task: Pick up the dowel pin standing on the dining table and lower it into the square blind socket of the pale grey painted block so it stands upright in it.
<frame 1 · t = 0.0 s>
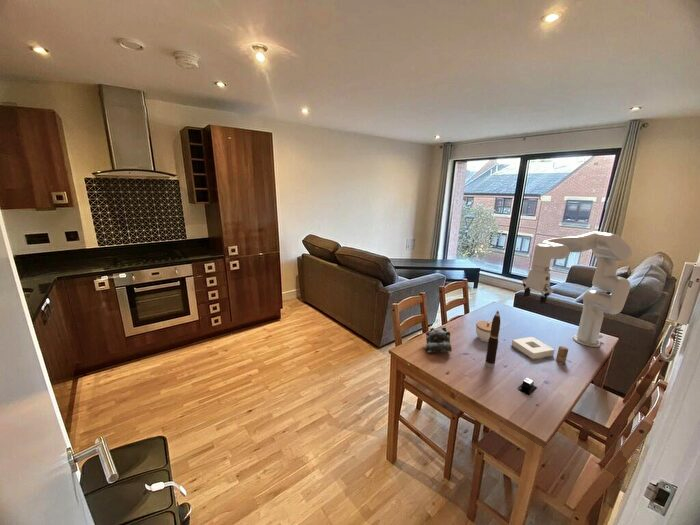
hand: (534, 299, 149), 31 cm above the table, fingers open, 9 cm apart
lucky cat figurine: (436, 350, 159), on the table
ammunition: (489, 365, 146), on the table
black blocky piece: (526, 389, 129), on the table
pin: (560, 361, 149), on the table
bore block: (531, 351, 158), on the table
lidded bowl: (485, 339, 170), on the table
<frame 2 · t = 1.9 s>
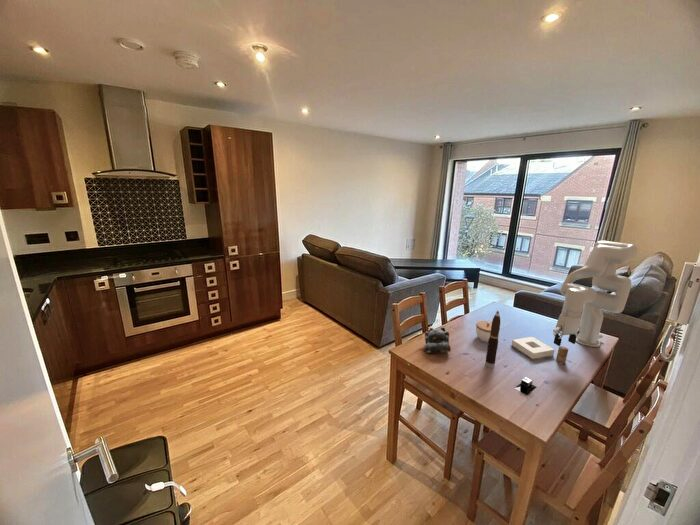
hand: (564, 343, 145), 11 cm above the table, fingers open, 9 cm apart
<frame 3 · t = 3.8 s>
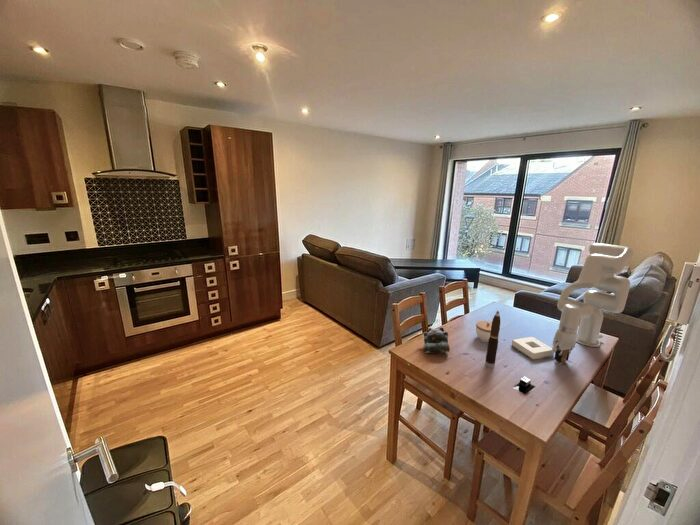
hand: (561, 359, 148), 1 cm above the table, fingers closed on pin, 4 cm apart
pin: (560, 361, 149), on the table, touching gripper
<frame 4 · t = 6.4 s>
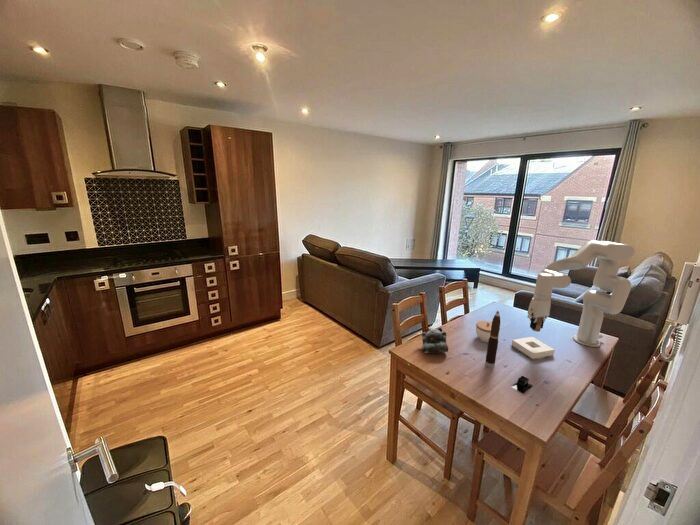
hand: (536, 327, 155), 14 cm above the table, fingers closed on pin, 4 cm apart
pin: (535, 329, 155), point 13 cm above the table, touching gripper
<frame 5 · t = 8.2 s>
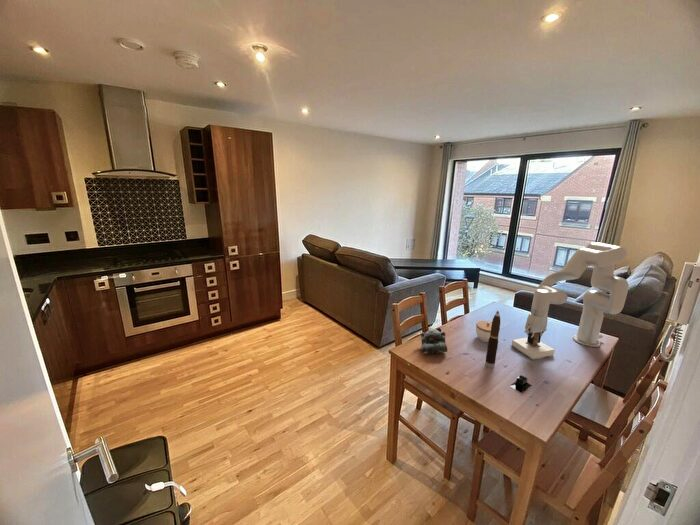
hand: (533, 342, 157), 6 cm above the table, fingers closed on pin, 4 cm apart
pin: (532, 344, 157), point 4 cm above the table, touching gripper
when the fingers open (5 cm above the table, at t = 9.4 s): pin drops 3 cm, resting on bore block.
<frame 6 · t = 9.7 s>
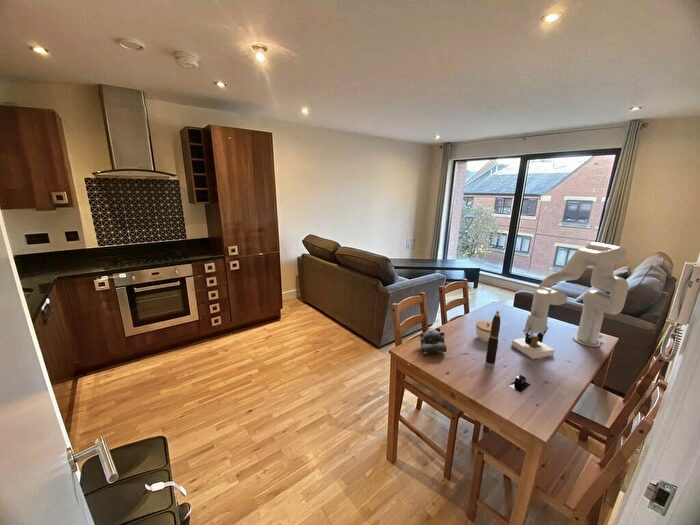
hand: (533, 342, 157), 6 cm above the table, fingers open, 7 cm apart
pin: (531, 349, 158), point 1 cm above the table, touching bore block
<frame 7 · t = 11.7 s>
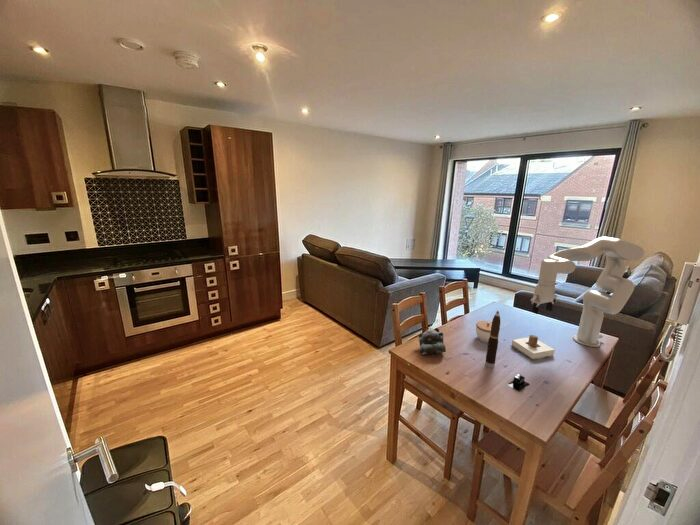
hand: (541, 311, 157), 22 cm above the table, fingers open, 9 cm apart
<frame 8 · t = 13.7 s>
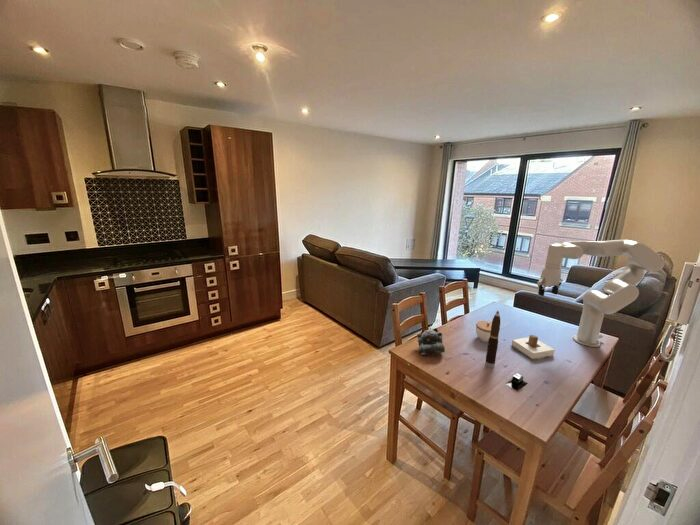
hand: (547, 294, 164), 28 cm above the table, fingers open, 9 cm apart
at the end: pin 0.3 cm off-centre on the bore block, point 0.8 cm above the bore block's base; pin tilted 1°; the gripper is holding nothing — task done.
